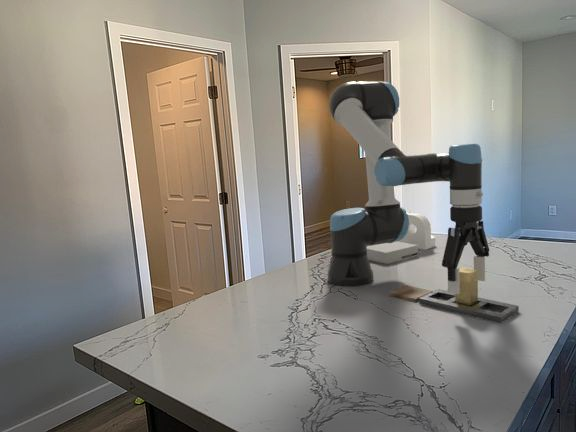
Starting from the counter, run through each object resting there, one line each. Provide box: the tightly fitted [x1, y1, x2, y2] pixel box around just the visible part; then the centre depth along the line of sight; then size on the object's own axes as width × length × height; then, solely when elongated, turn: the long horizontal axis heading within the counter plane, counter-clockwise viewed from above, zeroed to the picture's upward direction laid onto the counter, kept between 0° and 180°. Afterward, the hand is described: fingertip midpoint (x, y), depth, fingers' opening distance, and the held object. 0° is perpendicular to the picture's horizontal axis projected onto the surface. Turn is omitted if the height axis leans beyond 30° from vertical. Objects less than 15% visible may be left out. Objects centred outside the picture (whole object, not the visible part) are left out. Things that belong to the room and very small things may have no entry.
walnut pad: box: [388, 285, 434, 303], centre depth 128 cm, size 9×9×1 cm
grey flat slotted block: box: [418, 288, 519, 324], centre depth 115 cm, size 22×10×2 cm, turn 41°
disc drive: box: [367, 241, 419, 265], centre depth 177 cm, size 18×22×5 cm
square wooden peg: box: [456, 267, 479, 307], centre depth 115 cm, size 4×4×10 cm
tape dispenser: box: [397, 211, 436, 250], centre depth 191 cm, size 12×18×14 cm, turn 42°
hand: (467, 286), depth 114 cm, fingers open, 13 cm apart
